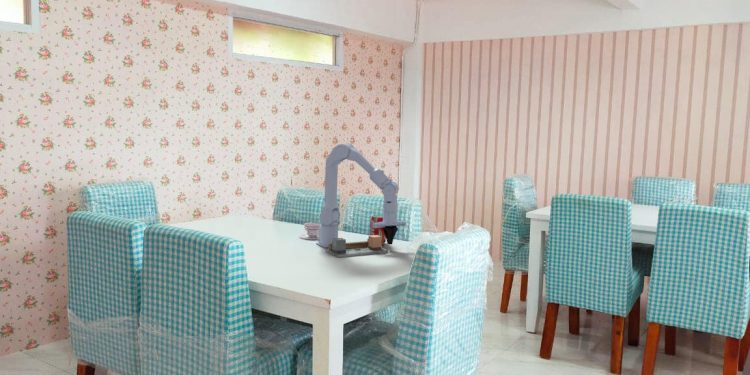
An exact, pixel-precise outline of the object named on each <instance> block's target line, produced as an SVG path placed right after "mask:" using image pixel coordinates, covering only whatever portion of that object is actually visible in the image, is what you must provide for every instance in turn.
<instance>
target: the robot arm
mask: <svg viewBox="0 0 750 375" xmlns="http://www.w3.org/2000/svg"><path fill="white" fill-rule="evenodd" d="M345 160H348V161H353V162H355V163H356V164H358V165H359V166H360V167H361V168H362V169H363V170H364V171H366V172H367V173H368V174H369V179H370V181H372V182H373V184H374V185H375V186H376V187H378V189H379V190H381V193H382V195H383V205H382V206H383V209H382V210H383V212H382V216H383V222H377V223H373V227H374V228H380V227H382V230H383V231H384V234H385V236H386V244H387V245H393V242H394V239H395V236H396V234H397V232H398V231H399V227H402V226H403V227H407V221H406V220H398V193H399V189H400V188H399V185H398V183H397V182H395V181H393V179H392V178H389V176H387V175H386V174H385V170H384V169H380V168H375V167H374V166H373V165H372V163H370V161H369V160H368V159H367V158H366V157H365V156H364V155H363V154H362V153H361V152H360V151H359V149H357V147H355V146H354V145H353V144H352V143H350V142H345V143H339V144H337V145H335V146H334V147H333V148H332V149H331V152H330V153H329V155H327V158H326V159H325V171H324V172H325V173H324V174H325V175H324V176H325V177H324V196H323V197H324V199H323V200H324V202H323V204H322V207H321V212H320V213H319V219H318V220H319V221H320V222H319V223H321V225H320V227H319V229H318V237H317V238H318V239H317V240H318V242H316V243H315V244H316V245H319V246H320V247H322V248H329V244H332V241H333V238H339V222H338V221H339V219H340V216H341V214H340V211H339V205H338V201H337V199H338V198H337V197H338V196H337V195H338V177H339V176H338V173H339V165H340V164H341V163H342V162H344V161H345Z"/></svg>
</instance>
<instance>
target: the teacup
mask: <svg viewBox="0 0 750 375" xmlns="http://www.w3.org/2000/svg"><path fill="white" fill-rule="evenodd" d="M320 225H321V222H306V223H304V230H305V232H306V233H305V234H301V235H299V236H298V237H299V238H300V239H304V240H318V229H319V227H320Z"/></svg>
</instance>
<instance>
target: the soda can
mask: <svg viewBox="0 0 750 375" xmlns="http://www.w3.org/2000/svg"><path fill="white" fill-rule="evenodd" d="M377 222H383V214H382V215H381V214H376V215H371V218H370V220H369V236H371V235H378V236H381V237H382V244H381V245H384V244H385V243H387V240H386V236H385V234H384V231H383V230H382V227H380V228H374V227H373V223H377Z"/></svg>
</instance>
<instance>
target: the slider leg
mask: <svg viewBox="0 0 750 375" xmlns="http://www.w3.org/2000/svg"><path fill="white" fill-rule="evenodd" d="M366 239H367V240H366V241H368V248H371V249H381V248H383V247H382V245H383V244H382V237H381V236H378V235H371V236H370V235H368V238H366Z"/></svg>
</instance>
